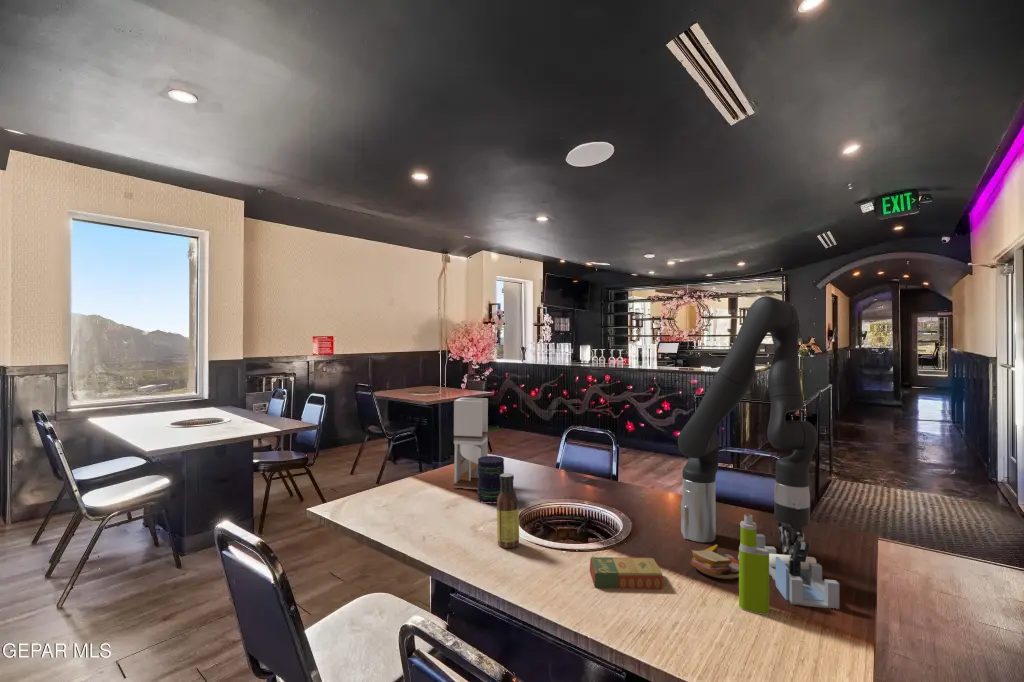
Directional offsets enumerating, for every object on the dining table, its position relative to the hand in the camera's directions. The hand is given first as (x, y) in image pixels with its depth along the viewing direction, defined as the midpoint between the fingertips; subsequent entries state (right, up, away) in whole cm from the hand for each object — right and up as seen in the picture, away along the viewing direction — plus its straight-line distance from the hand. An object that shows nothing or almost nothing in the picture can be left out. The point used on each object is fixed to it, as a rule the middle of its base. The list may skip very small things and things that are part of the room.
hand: (792, 571), depth 115 cm
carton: (-41, -2, -1) cm, 42 cm away
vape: (-16, -2, -13) cm, 21 cm away
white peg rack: (0, -2, 0) cm, 2 cm away
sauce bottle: (-70, -2, +19) cm, 73 cm away
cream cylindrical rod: (0, +1, 0) cm, 1 cm away
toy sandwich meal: (-16, -2, +5) cm, 17 cm away
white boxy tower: (-86, -2, +75) cm, 114 cm away
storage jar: (-77, -2, +58) cm, 96 cm away
